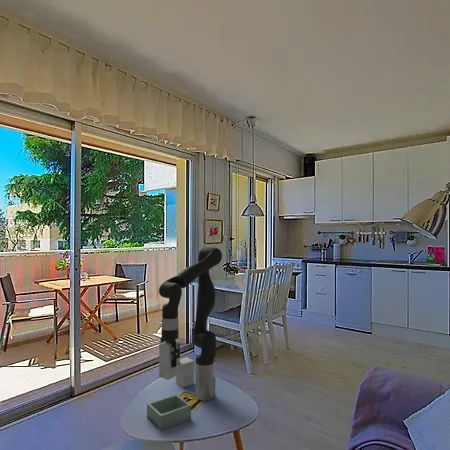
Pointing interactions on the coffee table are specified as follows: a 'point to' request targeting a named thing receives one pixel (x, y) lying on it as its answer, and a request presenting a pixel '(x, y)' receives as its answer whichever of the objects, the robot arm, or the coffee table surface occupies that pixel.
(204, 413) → the coffee table surface
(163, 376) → the skincare box
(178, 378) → the supplement box
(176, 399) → the box
